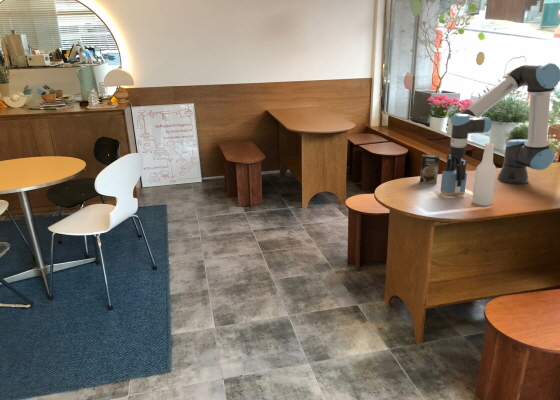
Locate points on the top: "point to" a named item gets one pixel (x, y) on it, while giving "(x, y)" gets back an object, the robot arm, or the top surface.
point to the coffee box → (429, 168)
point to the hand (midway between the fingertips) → (453, 190)
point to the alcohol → (485, 178)
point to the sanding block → (451, 183)
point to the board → (443, 196)
